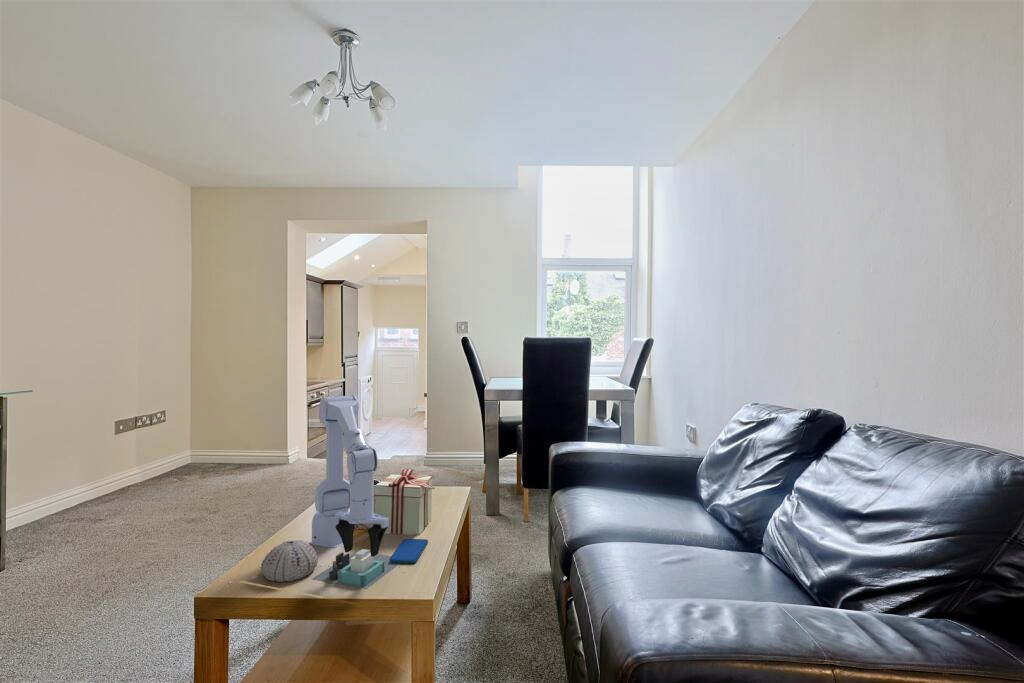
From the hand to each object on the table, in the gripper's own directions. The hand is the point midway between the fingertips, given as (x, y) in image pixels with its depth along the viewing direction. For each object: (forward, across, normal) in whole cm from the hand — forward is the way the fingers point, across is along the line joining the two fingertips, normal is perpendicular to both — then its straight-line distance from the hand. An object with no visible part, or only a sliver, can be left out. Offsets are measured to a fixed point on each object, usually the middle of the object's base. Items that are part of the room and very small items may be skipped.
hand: (361, 552), depth 124 cm
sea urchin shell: (+7, -19, -4) cm, 20 cm away
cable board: (+6, -3, +4) cm, 8 cm away
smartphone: (+6, +4, +17) cm, 18 cm away
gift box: (+7, -8, +36) cm, 37 cm away
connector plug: (+6, 0, 0) cm, 6 cm away
